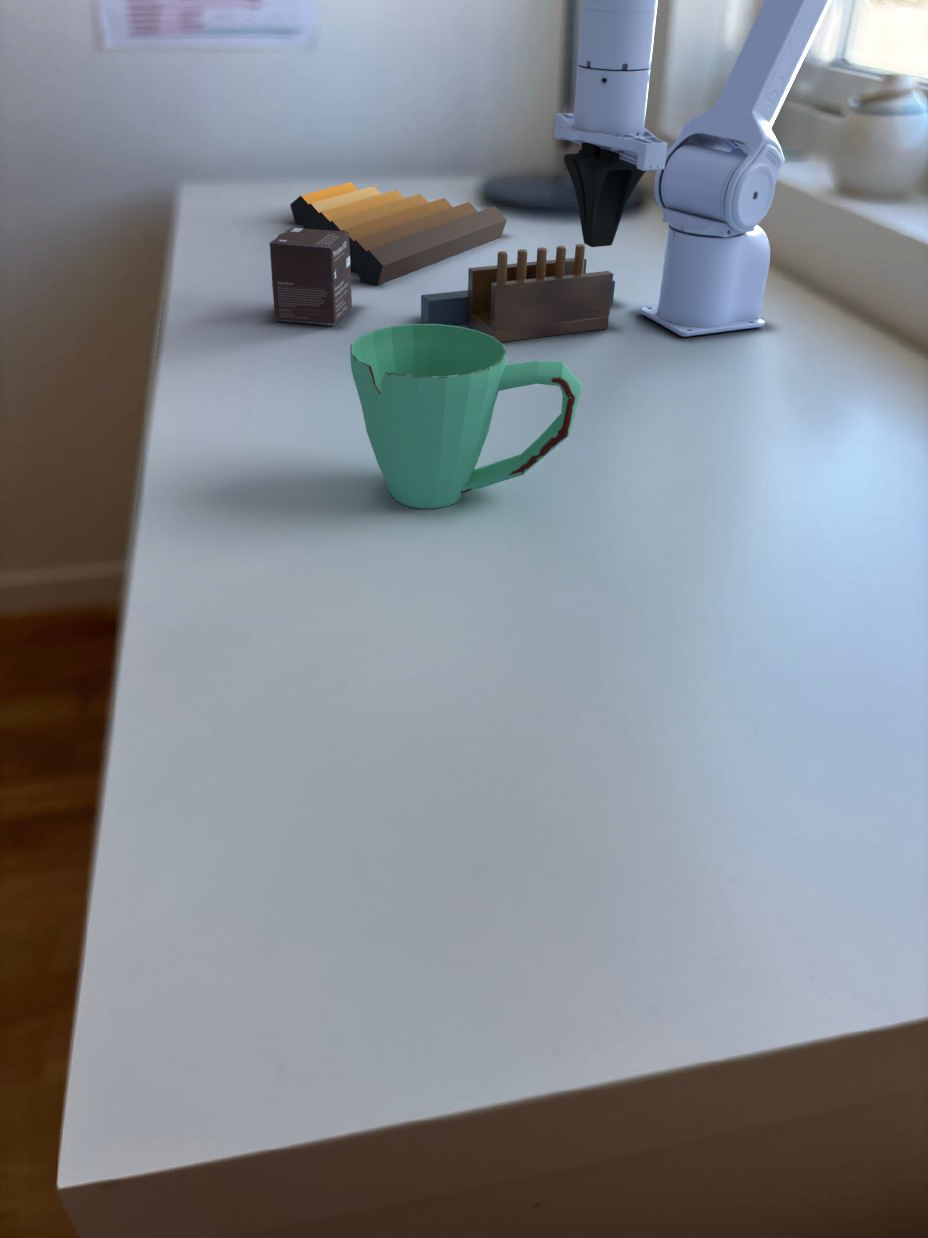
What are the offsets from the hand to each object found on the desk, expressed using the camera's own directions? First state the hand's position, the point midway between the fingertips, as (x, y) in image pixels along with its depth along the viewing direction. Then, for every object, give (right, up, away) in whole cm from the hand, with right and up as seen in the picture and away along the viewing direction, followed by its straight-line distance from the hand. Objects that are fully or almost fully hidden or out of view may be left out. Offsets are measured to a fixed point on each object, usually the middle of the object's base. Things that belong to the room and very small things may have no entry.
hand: (597, 244), depth 93 cm
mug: (-11, -24, -19) cm, 33 cm away
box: (-26, -3, +12) cm, 29 cm away
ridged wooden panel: (-24, +12, +35) cm, 44 cm away
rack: (-4, -4, +11) cm, 12 cm away
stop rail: (-6, -2, +14) cm, 15 cm away
